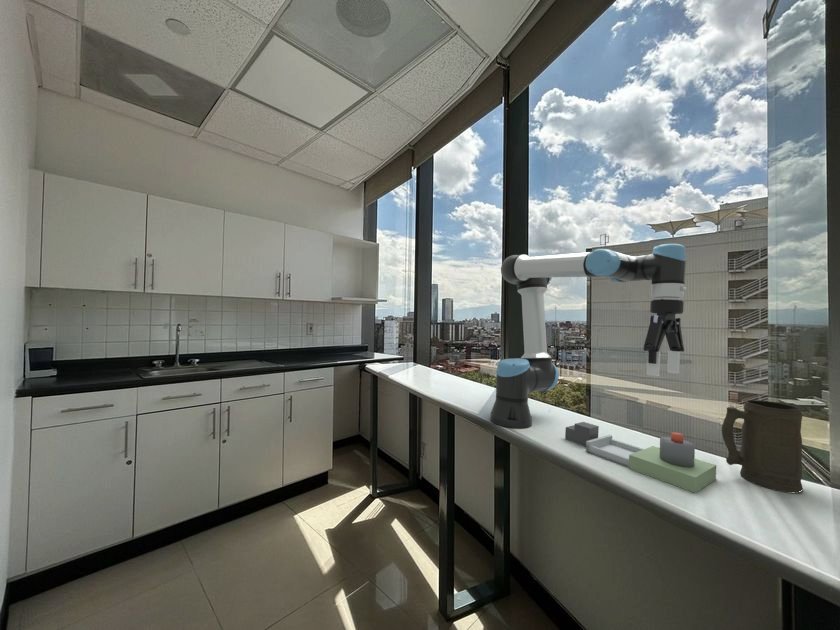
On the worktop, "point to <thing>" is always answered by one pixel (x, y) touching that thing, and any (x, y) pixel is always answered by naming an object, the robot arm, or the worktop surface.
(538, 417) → the worktop surface
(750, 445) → the beer stein
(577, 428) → the squat charcoal block
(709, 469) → the green slab with knob
